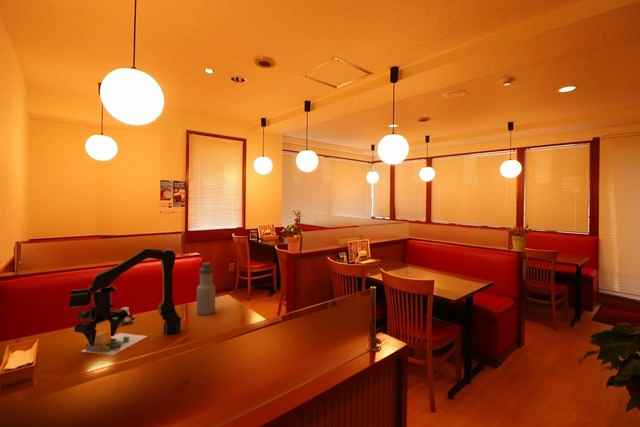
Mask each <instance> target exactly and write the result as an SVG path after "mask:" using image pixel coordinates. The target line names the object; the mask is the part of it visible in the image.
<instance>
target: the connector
mask: <svg viewBox="0 0 640 427" xmlns="http://www.w3.org/2000/svg"><path fill="white" fill-rule="evenodd" d="M111 337H112V336H111V332H106V331H105V332H104V331H101V332H99V333H96V336H95V342H94V344H96V345H103V350H104V347H105V346H110V348H118V349H120V348H121V345H117V344H111Z"/></svg>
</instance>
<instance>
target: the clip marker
mask: <svg viewBox="0 0 640 427" xmlns="http://www.w3.org/2000/svg"><path fill="white" fill-rule="evenodd" d="M128 341H129V337H124V341H122V342H121V341H115V342H119V345H122V344H124V343H126V342H128Z"/></svg>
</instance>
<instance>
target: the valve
mask: <svg viewBox="0 0 640 427" xmlns="http://www.w3.org/2000/svg"><path fill="white" fill-rule="evenodd" d="M120 309H122V310H126V312H127V316H126V317H124V319H123V321H122V322H121V324H120V326H124V325H126V326H127V325H129V324H130V325H132V324H134V321H135V319H136V318H135V317H134V314H133V313H130V311H129V309H130V308H129V306H128V307H127V306H126V307H125V306H124V307H122V308H120Z"/></svg>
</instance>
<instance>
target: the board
mask: <svg viewBox="0 0 640 427" xmlns="http://www.w3.org/2000/svg"><path fill="white" fill-rule="evenodd" d="M124 337H129V341H128V342H126V343H124V344H122V345H121V348H120V349H118V348H115V349H113V350H111V351H109V352H105V351H104V350H103V352H94V351H86V348H85V349H82V350H80V352H82V353H88V354H90V353H91V354H97V355H98V354H99V355H105V356H114V355H116V354H117V353H120V352H121V351H123V350H125V349H127V348H128V347H129V348H130V347H131V346H132V345H135V344H136V343H138V342H139V341H141V340H143V339H145V338H147V337H148V336H147V335H142V334H141V335H140V334H131V333H123V332H122V333H121V332H119V333H115V335H114V336H111V338H115V339H116V341H121V342H122V341H124Z"/></svg>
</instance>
